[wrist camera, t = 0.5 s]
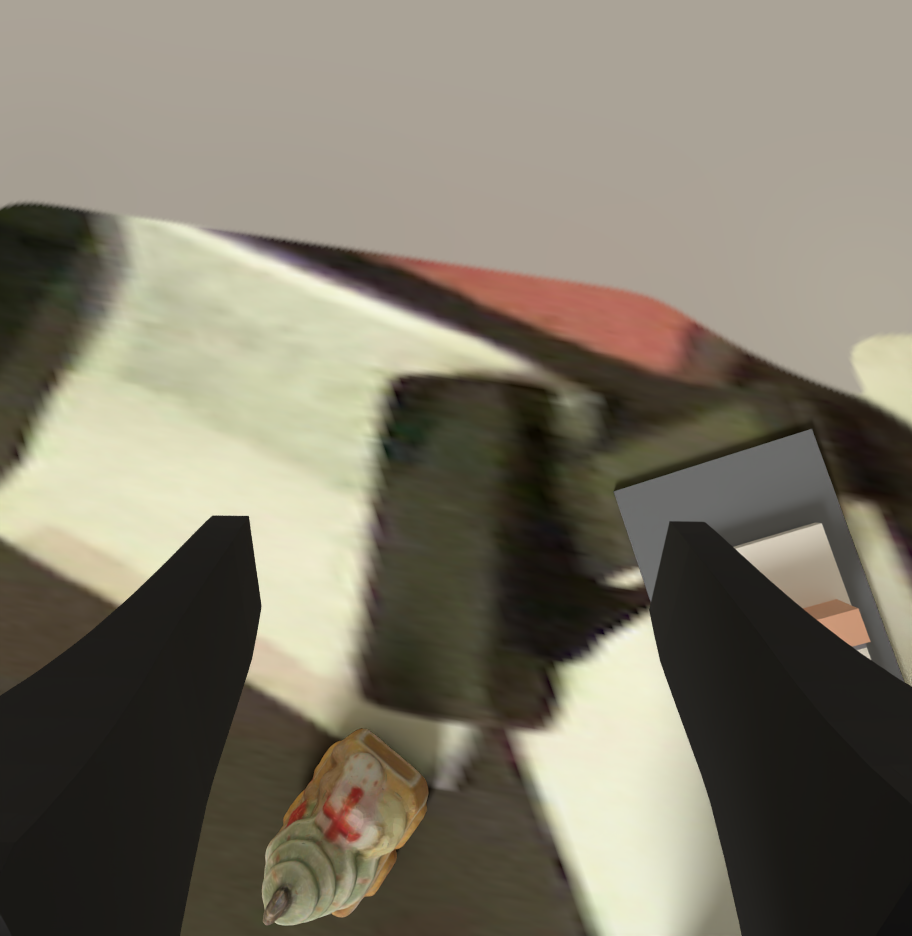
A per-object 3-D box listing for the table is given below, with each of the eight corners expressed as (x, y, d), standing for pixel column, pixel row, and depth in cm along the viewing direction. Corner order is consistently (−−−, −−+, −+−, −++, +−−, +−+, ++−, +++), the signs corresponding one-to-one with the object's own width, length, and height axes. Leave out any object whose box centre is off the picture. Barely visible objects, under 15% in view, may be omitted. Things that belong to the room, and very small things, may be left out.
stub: (852, 626, 35) (884, 643, 31) (701, 667, 36) (714, 688, 32) (815, 522, 35) (842, 525, 31) (667, 566, 36) (675, 574, 32)
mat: (946, 805, 34) (951, 809, 34) (735, 853, 36) (736, 857, 35) (809, 429, 36) (811, 428, 36) (613, 491, 38) (613, 491, 37)
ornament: (350, 705, 40) (266, 772, 30) (450, 768, 39) (398, 859, 29) (282, 834, 40) (178, 942, 31) (379, 900, 39) (304, 1034, 29)
